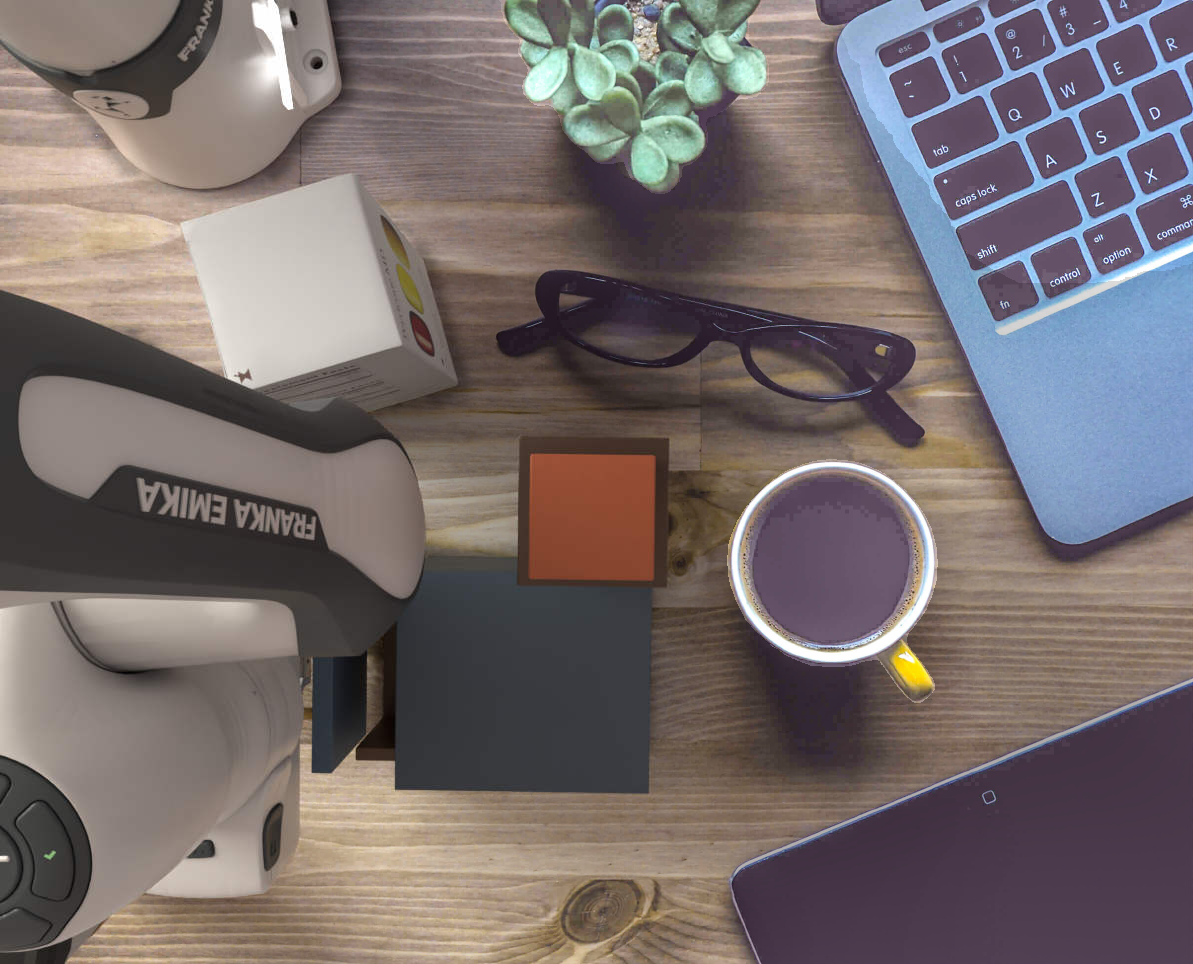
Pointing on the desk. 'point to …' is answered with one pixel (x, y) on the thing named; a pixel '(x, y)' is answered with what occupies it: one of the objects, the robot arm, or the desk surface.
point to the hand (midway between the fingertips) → (299, 658)
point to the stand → (595, 447)
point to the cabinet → (521, 683)
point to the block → (592, 517)
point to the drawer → (351, 709)
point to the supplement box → (320, 298)
